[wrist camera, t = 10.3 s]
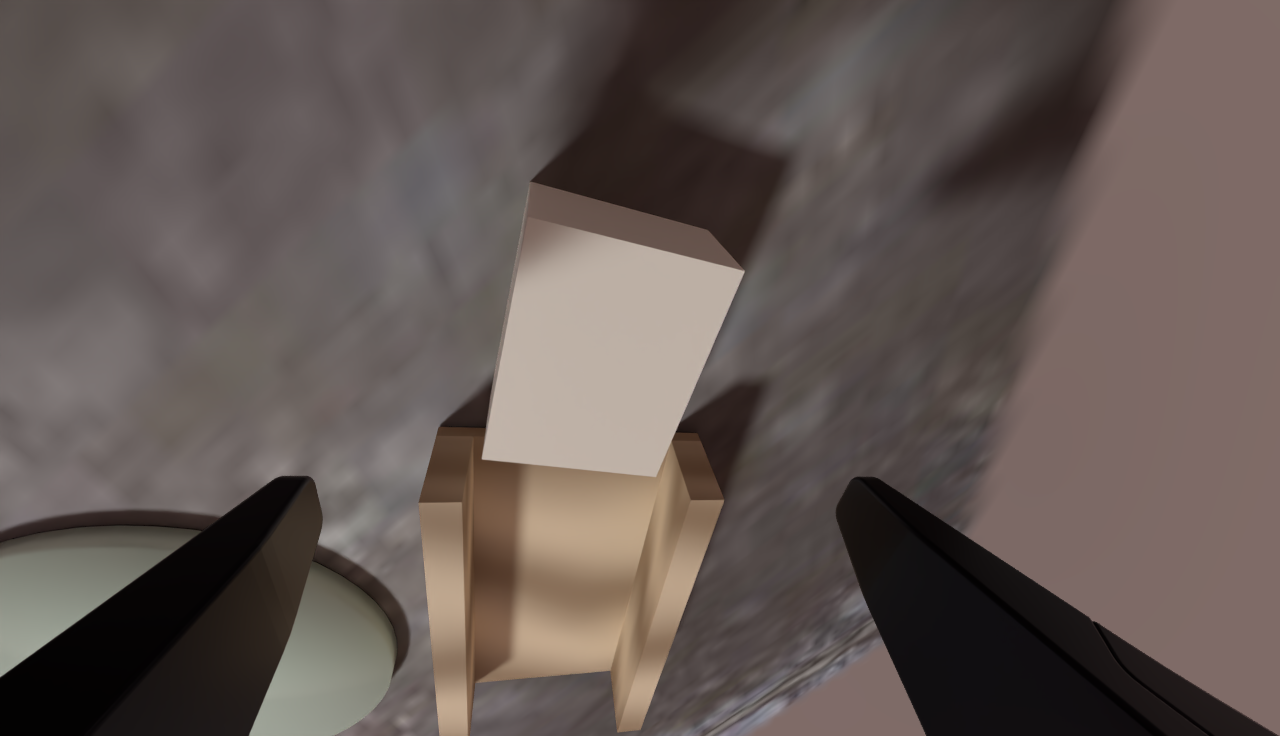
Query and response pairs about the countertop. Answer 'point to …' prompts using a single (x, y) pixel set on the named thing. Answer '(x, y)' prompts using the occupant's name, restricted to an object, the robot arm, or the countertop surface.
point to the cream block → (603, 334)
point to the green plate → (117, 555)
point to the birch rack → (558, 569)
